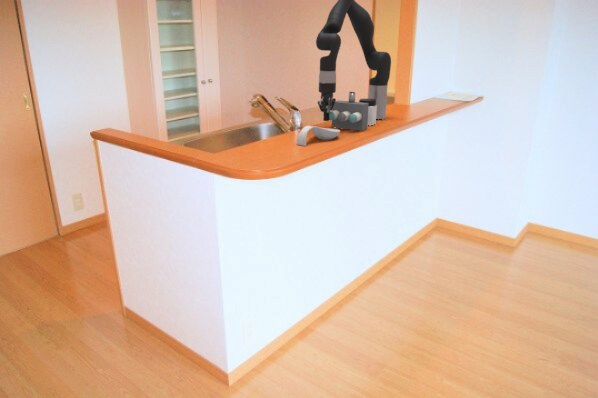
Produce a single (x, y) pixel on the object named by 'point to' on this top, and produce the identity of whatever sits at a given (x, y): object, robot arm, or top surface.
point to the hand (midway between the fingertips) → (326, 120)
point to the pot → (351, 97)
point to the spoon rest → (316, 134)
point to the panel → (351, 108)
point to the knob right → (355, 117)
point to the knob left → (333, 115)
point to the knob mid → (343, 116)
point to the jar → (371, 110)
